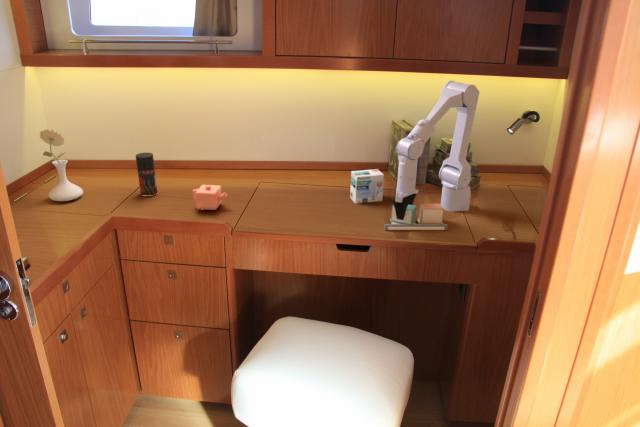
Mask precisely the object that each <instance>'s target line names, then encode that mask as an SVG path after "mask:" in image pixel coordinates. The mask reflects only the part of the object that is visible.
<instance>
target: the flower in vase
mask: <svg viewBox="0 0 640 427" xmlns="http://www.w3.org/2000/svg"><path fill="white" fill-rule="evenodd" d="M39 138H40V139H41V140H42V141H43V142H44V143H46V144H48V145H49V146H50V147H49V151H44V152H43V154H42V156H46V157H49V158H54V159H55V160H53V161H51V164H52V165H53V166H55V168H56V171H57V173H58V177H59V180H58V181H59V182H58V184H56V185H55V186H54V187H53V188H52V189H51V190H50V192H49V193H48V198H49V199H50V200H51V201H55V202H68V201H69V202H70V201H72V200H73V201H74V200H77V199H78V198H79V197H81V196H82V195H83V194H84V190H83V188H81V187H80V186H79V185H77V184H74V183H73V182H70V181H69V180H68V178H67V173H66V166H67V163H68V162H69V160H67V159H59V158H61V157H62V156H63V155H64V154H65V152H62V153H59V155H57V157H56V156H55V155H54V153H53V151H52V146H53V147H59V146H63V145H65V139H64V137H63V136H62V134H61V133H59V132H58V131H54V130H53V129H50V130H49V129H43V130H42V131H39Z"/></svg>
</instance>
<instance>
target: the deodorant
mask: <svg viewBox="0 0 640 427" xmlns="http://www.w3.org/2000/svg"><path fill="white" fill-rule="evenodd" d="M135 162H136V167H137V169H136V170H137V176H138V184H139V190H140V196H141V195H154V194H156V193H157V192H158V185H157V177H156V168H155V160H154V154H153V153H152V152H140V153H136V154H135Z"/></svg>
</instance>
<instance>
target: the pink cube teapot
mask: <svg viewBox="0 0 640 427" xmlns="http://www.w3.org/2000/svg"><path fill="white" fill-rule="evenodd" d="M226 197H228V193H227V192H225V191H224V192H223V193H222V186H221V185H217V184H216V185H215V184H214V185H213V184H201V186H200V187H199V188H196V189H192V199H193V200H195V203H196V204H195V205H196V206H195V207H196V210H200V209H205V210H207V211H208V210H209V211H211V210H216V211H217V209H218V208H219V206H220V205H221V203H223V202H222V201H223V199H225V198H226ZM205 210H204V211H205Z"/></svg>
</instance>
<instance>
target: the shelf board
mask: <svg viewBox="0 0 640 427" xmlns="http://www.w3.org/2000/svg"><path fill="white" fill-rule="evenodd" d="M389 220H390V222H391V218H389ZM416 220H417V222H418V223H416V221H415V222H414V223H413V224H400V223H395V222H391V223H385V224H384V226H383V228H384V229H383V230H384V231H448V227H449V225H448V224H447V223H444V221H442V224H421V223H420V221H419V219H418V218H416Z"/></svg>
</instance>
